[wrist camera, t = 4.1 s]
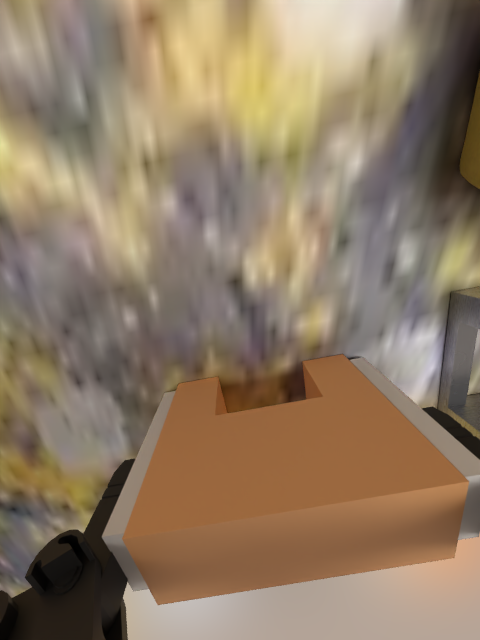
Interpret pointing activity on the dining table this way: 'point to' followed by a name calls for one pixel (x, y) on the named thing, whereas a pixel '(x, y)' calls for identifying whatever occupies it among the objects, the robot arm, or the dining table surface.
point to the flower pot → (472, 144)
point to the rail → (461, 360)
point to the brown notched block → (290, 490)
